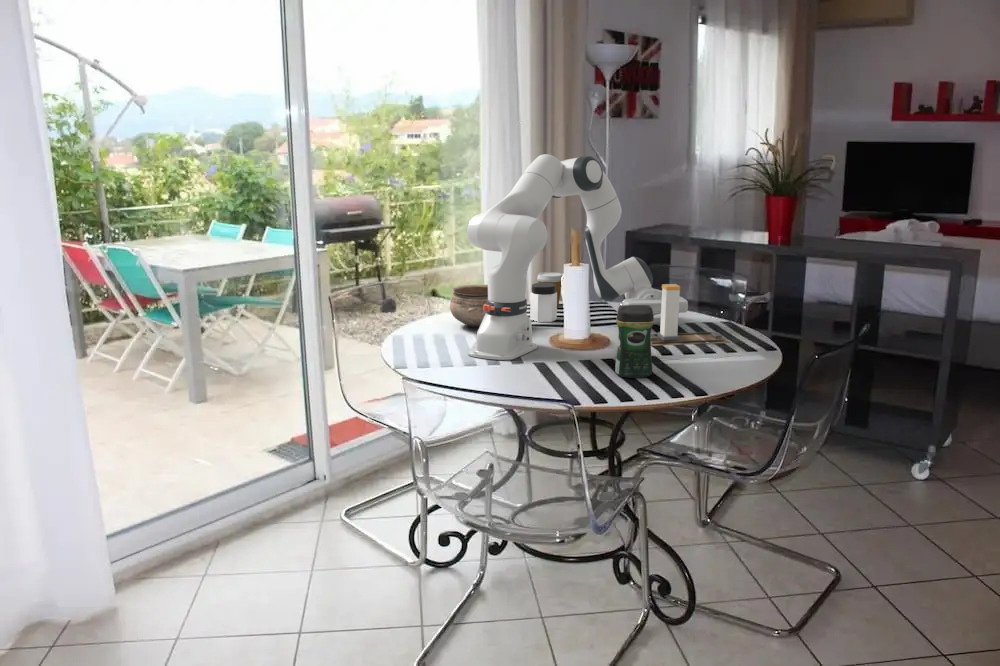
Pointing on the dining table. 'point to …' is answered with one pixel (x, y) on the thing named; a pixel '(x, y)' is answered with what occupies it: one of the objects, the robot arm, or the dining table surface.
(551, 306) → the jar
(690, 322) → the dining table surface
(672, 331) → the fader
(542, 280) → the disposable coffee cup
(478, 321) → the cooking pot
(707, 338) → the board
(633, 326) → the coffee jar
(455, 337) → the dining table surface
